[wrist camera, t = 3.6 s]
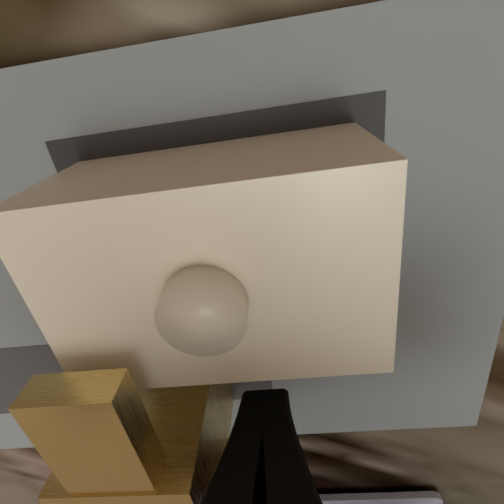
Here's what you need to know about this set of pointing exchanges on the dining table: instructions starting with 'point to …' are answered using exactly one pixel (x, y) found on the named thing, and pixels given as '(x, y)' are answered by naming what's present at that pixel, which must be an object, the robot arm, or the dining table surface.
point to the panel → (292, 119)
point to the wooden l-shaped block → (124, 437)
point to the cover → (217, 259)
